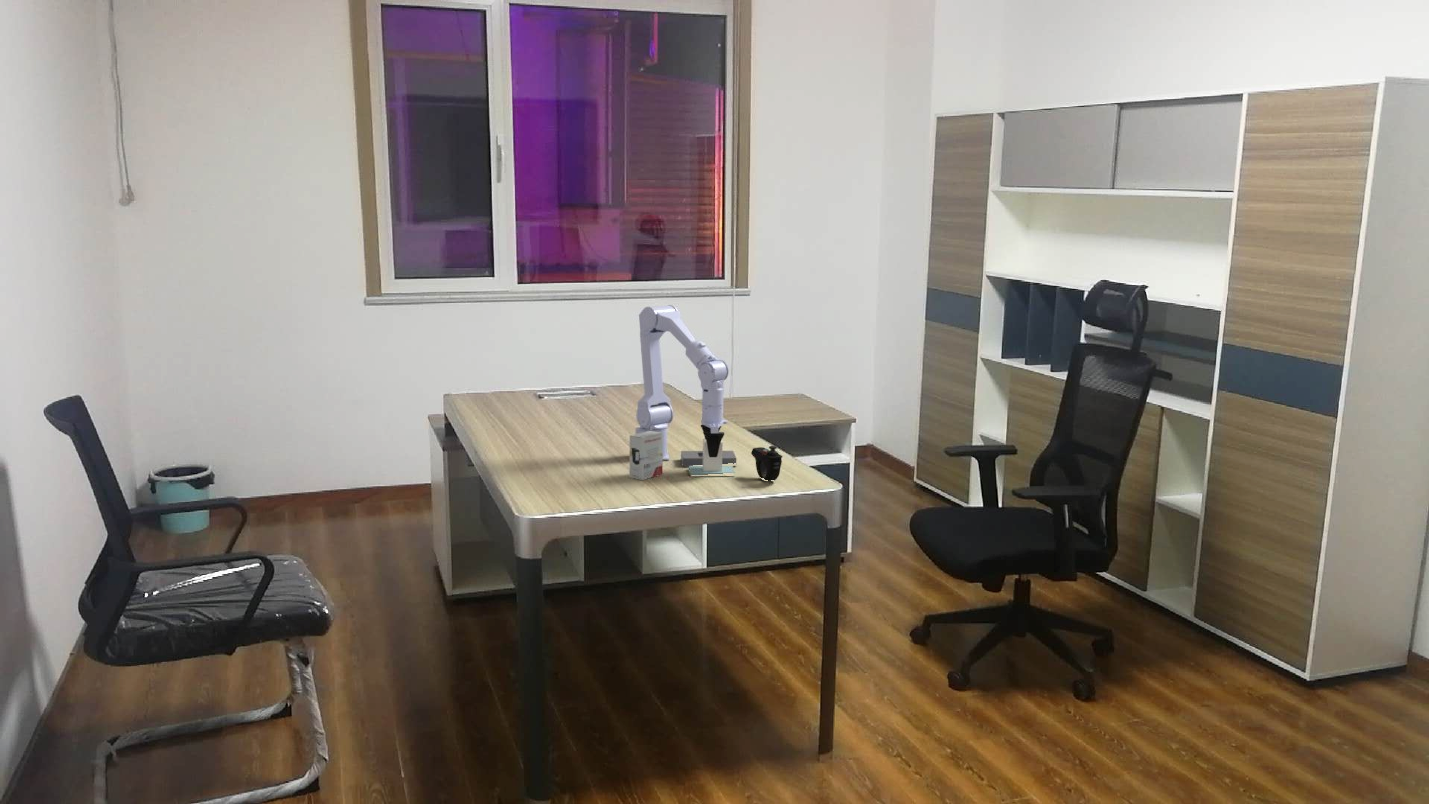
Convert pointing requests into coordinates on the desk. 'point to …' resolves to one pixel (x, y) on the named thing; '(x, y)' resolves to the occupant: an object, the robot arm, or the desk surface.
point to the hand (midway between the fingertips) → (711, 453)
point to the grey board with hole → (697, 457)
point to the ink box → (646, 455)
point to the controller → (767, 462)
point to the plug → (712, 459)
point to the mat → (699, 471)
